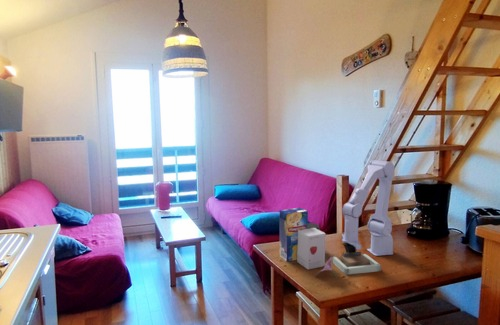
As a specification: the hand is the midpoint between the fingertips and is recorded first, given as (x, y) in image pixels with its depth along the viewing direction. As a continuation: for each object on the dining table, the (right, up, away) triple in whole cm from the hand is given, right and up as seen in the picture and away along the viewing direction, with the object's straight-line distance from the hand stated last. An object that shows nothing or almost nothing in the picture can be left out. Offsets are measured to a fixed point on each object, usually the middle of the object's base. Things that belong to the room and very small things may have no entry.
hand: (350, 259), depth 163 cm
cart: (+1, -2, -5) cm, 5 cm away
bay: (+1, -2, -4) cm, 5 cm away
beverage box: (-25, -1, +6) cm, 26 cm away
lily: (-13, -4, -13) cm, 19 cm away
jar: (-15, +1, +15) cm, 22 cm away
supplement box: (-18, -2, -2) cm, 18 cm away
